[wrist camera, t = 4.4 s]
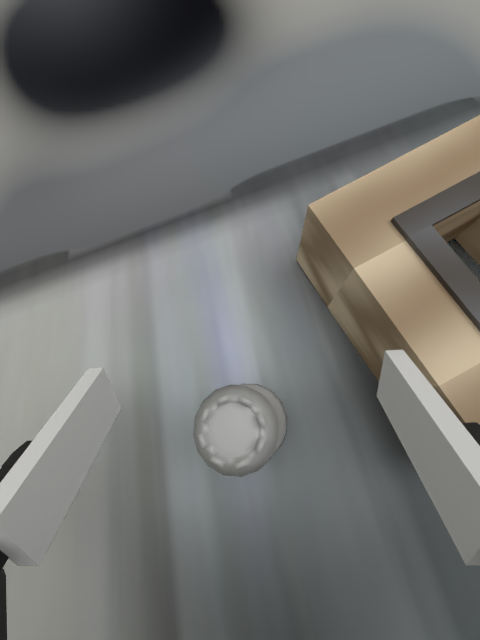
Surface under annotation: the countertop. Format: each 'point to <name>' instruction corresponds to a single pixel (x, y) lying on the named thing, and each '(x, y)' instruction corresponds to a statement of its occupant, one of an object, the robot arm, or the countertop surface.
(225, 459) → the rook chess piece
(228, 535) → the countertop surface
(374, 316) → the socket block
